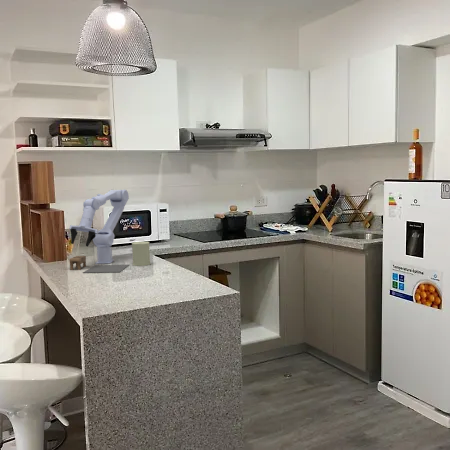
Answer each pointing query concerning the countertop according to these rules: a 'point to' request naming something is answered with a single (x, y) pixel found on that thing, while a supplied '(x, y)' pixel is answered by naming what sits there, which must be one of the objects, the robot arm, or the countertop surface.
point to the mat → (106, 269)
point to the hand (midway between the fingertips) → (79, 244)
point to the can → (141, 253)
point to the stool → (78, 262)
